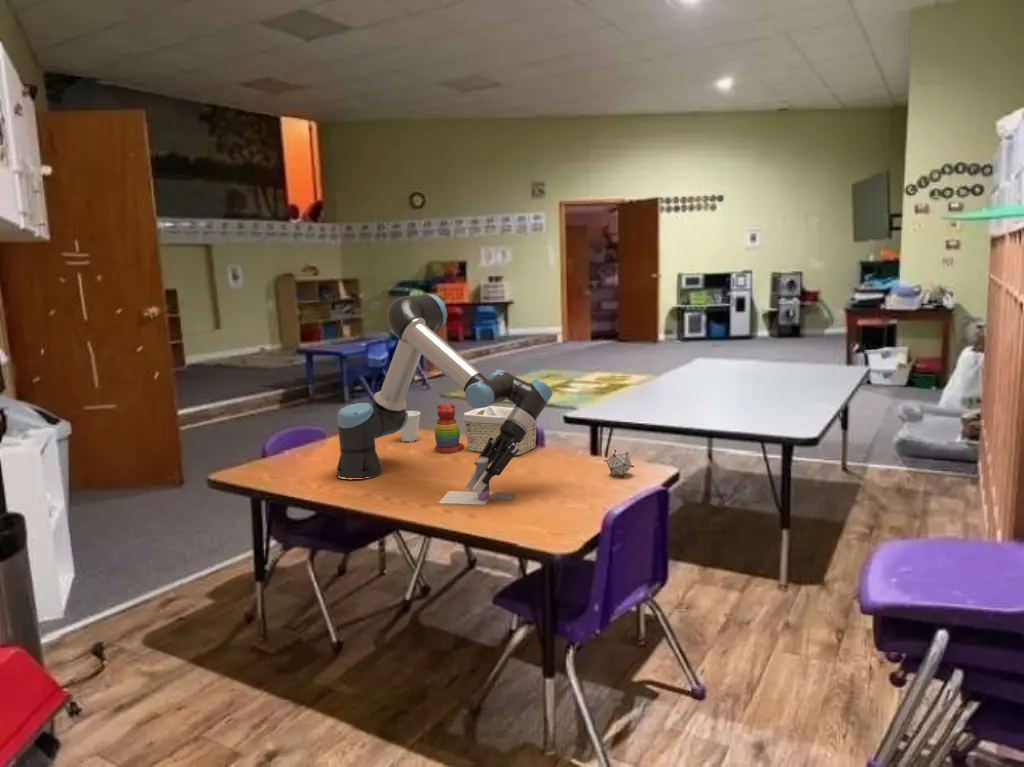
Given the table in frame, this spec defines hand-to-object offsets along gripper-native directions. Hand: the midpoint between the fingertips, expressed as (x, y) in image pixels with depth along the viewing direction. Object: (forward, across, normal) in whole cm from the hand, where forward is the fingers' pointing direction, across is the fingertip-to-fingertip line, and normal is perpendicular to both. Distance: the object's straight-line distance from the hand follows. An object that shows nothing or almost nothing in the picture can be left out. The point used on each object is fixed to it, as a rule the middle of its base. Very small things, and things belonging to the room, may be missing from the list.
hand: (472, 490), depth 219 cm
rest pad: (-4, -1, -10) cm, 11 cm away
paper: (+2, +5, -3) cm, 6 cm away
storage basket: (-25, +46, -31) cm, 61 cm away
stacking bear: (-14, +58, -20) cm, 63 cm away
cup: (-11, +82, -17) cm, 85 cm away
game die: (-33, -8, -38) cm, 51 cm away
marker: (-1, 0, -5) cm, 5 cm away
